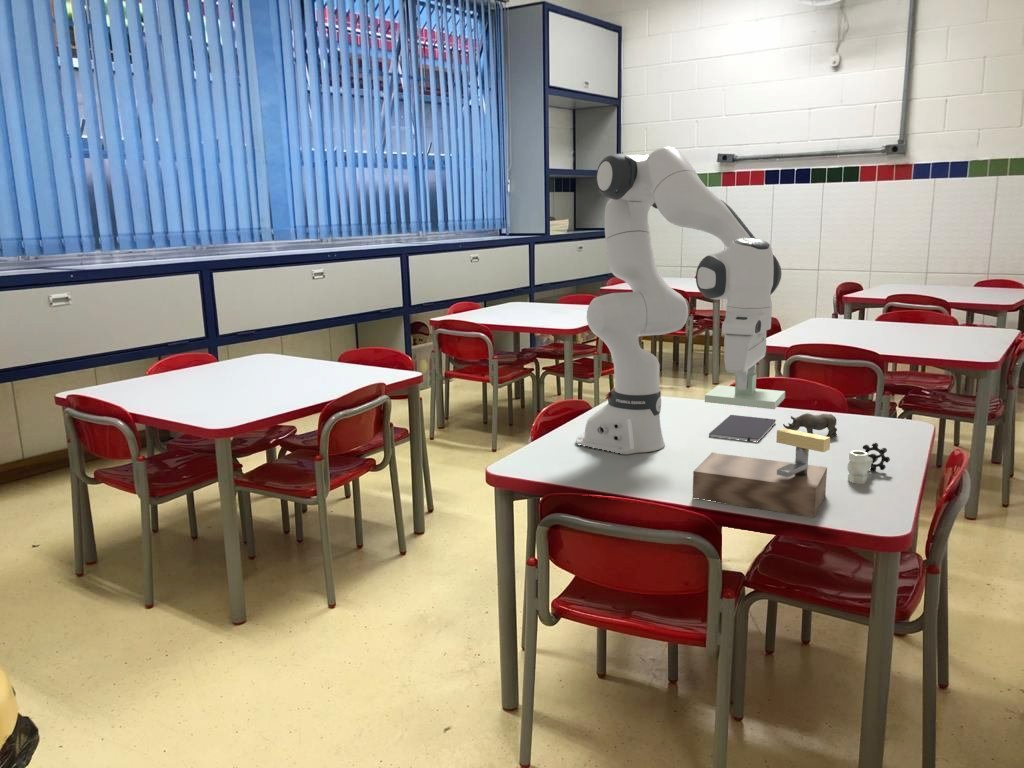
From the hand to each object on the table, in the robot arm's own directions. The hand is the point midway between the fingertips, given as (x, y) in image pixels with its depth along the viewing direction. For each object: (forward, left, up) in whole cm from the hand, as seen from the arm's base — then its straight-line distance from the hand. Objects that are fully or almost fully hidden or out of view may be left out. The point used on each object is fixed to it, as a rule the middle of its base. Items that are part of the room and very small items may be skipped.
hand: (745, 386), depth 167 cm
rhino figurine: (+6, +49, -23) cm, 55 cm away
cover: (0, 0, -3) cm, 3 cm away
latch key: (+11, -5, -17) cm, 21 cm away
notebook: (-11, +48, -24) cm, 54 cm away
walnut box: (+4, -2, -23) cm, 23 cm away
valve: (+22, +20, -23) cm, 38 cm away
